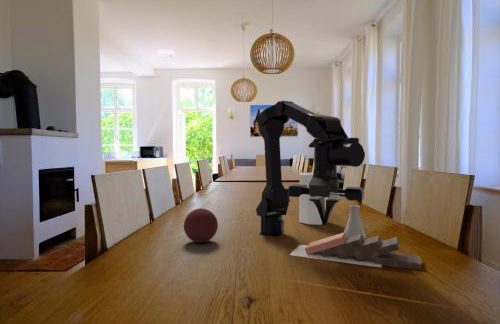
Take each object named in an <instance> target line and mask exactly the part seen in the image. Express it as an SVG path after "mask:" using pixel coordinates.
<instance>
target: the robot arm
mask: <svg viewBox="0 0 500 324" xmlns="http://www.w3.org/2000/svg"><path fill="white" fill-rule="evenodd" d="M256 119H257V120H256V123H257V129H258V133H259V134H260V136H261V137H262V139H263V142H264V143H263V144H264V145H263V146H264V159H265V160H264V163H265V164H264V165H265V182H266V183H265V186H264V189H263V190H262V193H261V201H260V202H259V204H258V205H257V206H256V208H255V212H256V215H257V216H258V217H260V232H259V233H258V235H260V236H269V237H279V236H281V235H283V234H284V232H285V231H284V228H285V227H284V225H285V221H284V219H283V216H287V212H288V208H289V207H290V206H289V204H290V201H291V200H290V197H291V198H299V196H301V195H302V194H307V195H310V199H309V201H313V203H314V204H315V205H316V207H317V209H318V212H319V215H320V218H321V221H322V226H327V225H328V222H329V219H330V216H331V215H332V214H331V213H332V211H333V209H334V207H335V205H336V204H337V203H339V202H341V201H342V198H341V197H343V198H346V199H347V200H348V201H355V202H362V201H363V200H364V198H365V189H364V188H363V187H362V186H360V187H359V186H346V187H345V189H344V188H343V189H341V188H340V181H339V179H340V178H339V177H338V176H337V175H338V173H337V171H338V167H355V168H357V167H360V166H361V165H362V164H363V163H364V161H365V157H366V152H365V150H364V147H363V145H362V144H361V143H360V138H359V137H349V136H348V135H347V132H346V131H345V129H344V128H343V126H342V124H341V120H340V118H338V117H336V116H330V115H325V114H318V113H315V112H314V111H311V110H309V109H307V108H305V107H303V106H300V105H298V104H296V103H294V102H293V101H289V100H279V101H277V102H276V103H274V105H271V106H269V107H267V108H265V109H264V110H262V111H261V112H260V114H258V116H257V118H256ZM290 120H292V121H294V122H295V123H297V124H299V125H302V126H303V127H304V128H305V130H306V132H307V133H308V134H309V135H310V136H311V137H313V138H314V139H313V140H312V141H311V142H310V143H309V144H308V147H309V148H310V149H311V148H313V150H314V151H313V152H314V153H313V154H314V155H313V157H314V158H313V164H314V165H313V172H312V173H313V177H312V179H311V181H310V182H309V188H307V185H300V183H298V184H292V185H289V186H288V188H286V187H285V186H284V184H283V180H282V161H281V142H280V141H281V140H280V139H281V137H282V134H284V133H283V132H285V131H284V130H285V124H287V123H288V122H289V121H290ZM326 197H328V199H327V200H326V210H325V198H326Z"/></svg>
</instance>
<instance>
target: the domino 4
mask: <svg viewBox="0 0 500 324" xmlns="http://www.w3.org/2000/svg"><path fill="white" fill-rule="evenodd" d="M396 251H400V241H399V239H398V236H395V237H392V238H388V239H385V240H381V246H380V248H377V249H374V250H370V251H367V252H363V253H360V254H356V255H355V256H356V259H357V261H360V260H364V259H368V258H371V257H375V256H379V255H382V254H386V253H390V252H396Z"/></svg>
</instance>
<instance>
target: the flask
mask: <svg viewBox="0 0 500 324" xmlns="http://www.w3.org/2000/svg"><path fill="white" fill-rule="evenodd" d="M349 208H350V209H349V216H348V217H349V218H348V220H347V223H346V226H345V228H344V230H343V233H344V232H345V233H346V236H347V238H349V237H352V236H356V235H359V234H362V236H363V238H364V239H368V237H367V235H366V232H365V228H364V226H363V224H362V220H361V216H360V209H361V206H360V205H356V204H352V205H351V204H350V205H349Z"/></svg>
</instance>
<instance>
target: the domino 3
mask: <svg viewBox="0 0 500 324" xmlns="http://www.w3.org/2000/svg"><path fill="white" fill-rule="evenodd" d="M381 241H382V240H381V238H380V235H376V236H372V237H367V238H365V239H364V241H363V244H362V246H359V247H356V248H352V249H349V250H345V251H342V252H338V255H339V258H340V259H342V258H346V257H349V256H353V255H356V254H360V253H363V252H367V251H370V250H374V249H377V248H380V246H381Z"/></svg>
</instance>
